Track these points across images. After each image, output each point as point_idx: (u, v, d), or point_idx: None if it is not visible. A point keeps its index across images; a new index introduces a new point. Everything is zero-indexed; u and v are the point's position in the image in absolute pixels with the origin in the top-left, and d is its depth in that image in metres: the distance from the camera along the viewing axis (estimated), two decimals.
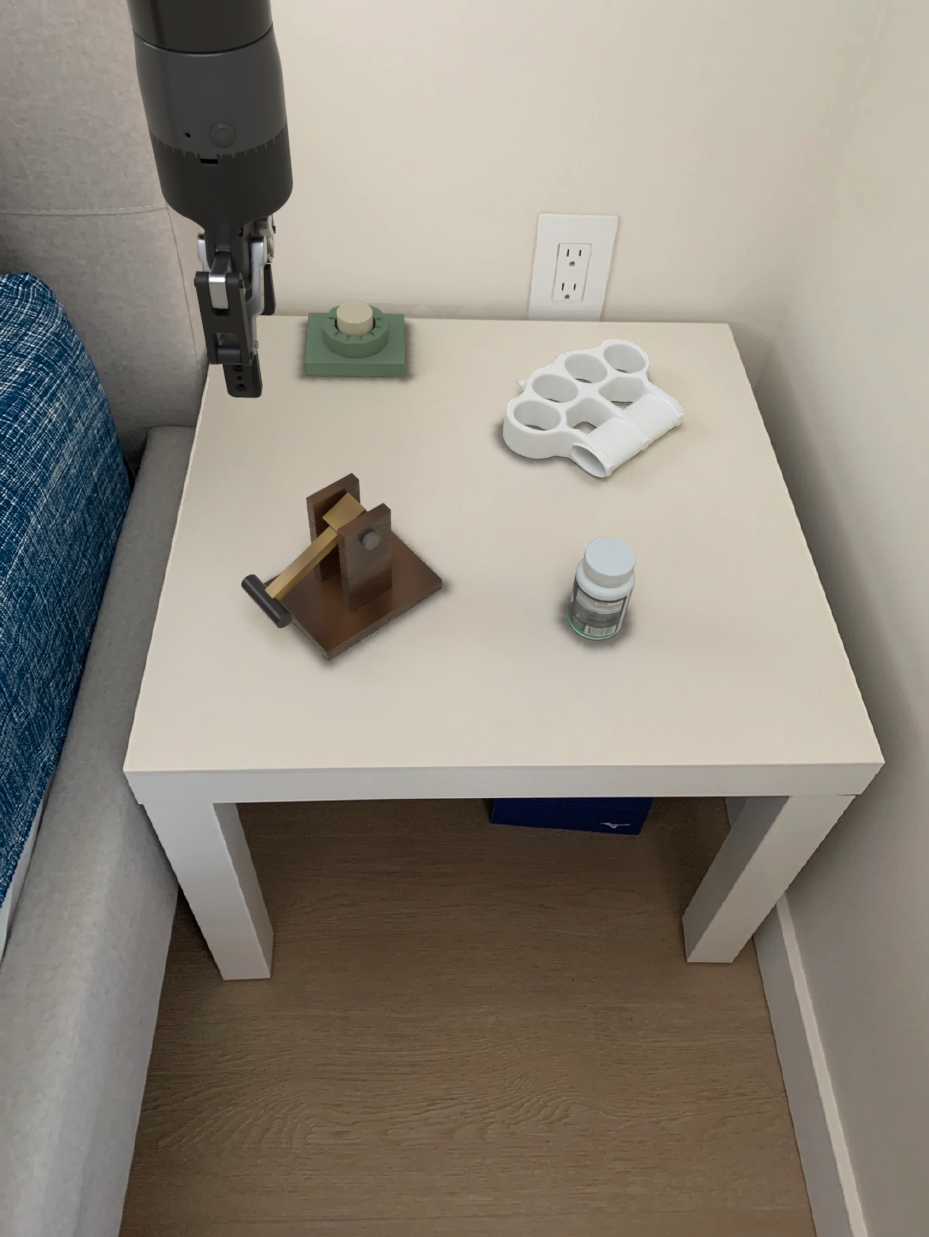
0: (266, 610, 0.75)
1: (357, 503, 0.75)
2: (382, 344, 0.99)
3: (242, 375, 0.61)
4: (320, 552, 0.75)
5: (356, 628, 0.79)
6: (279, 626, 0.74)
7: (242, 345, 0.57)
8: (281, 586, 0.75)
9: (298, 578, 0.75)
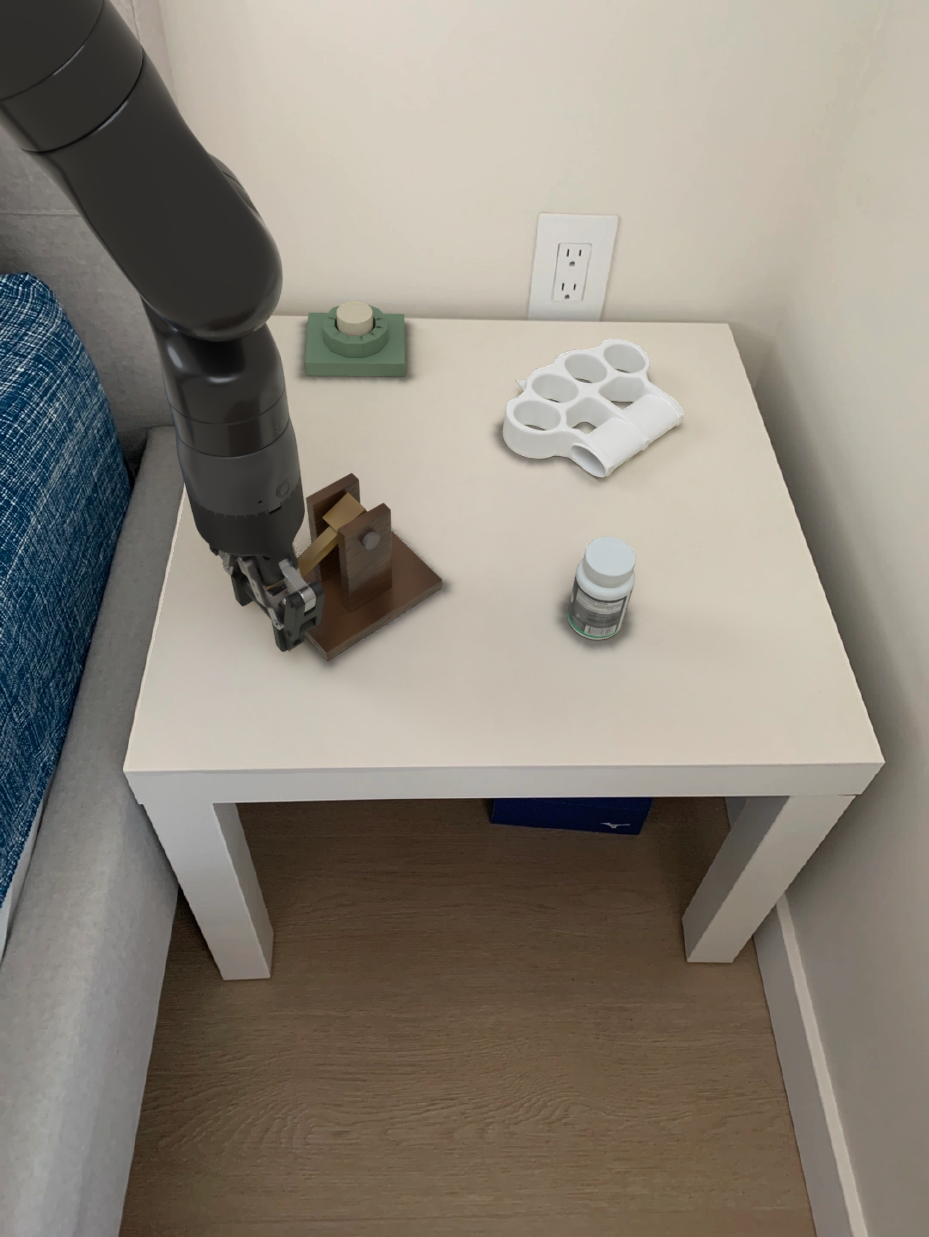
0: (266, 610, 0.75)
1: (357, 503, 0.75)
2: (382, 344, 0.99)
3: None
4: (320, 552, 0.75)
5: (356, 628, 0.79)
6: None
7: (318, 618, 0.71)
8: None
9: None
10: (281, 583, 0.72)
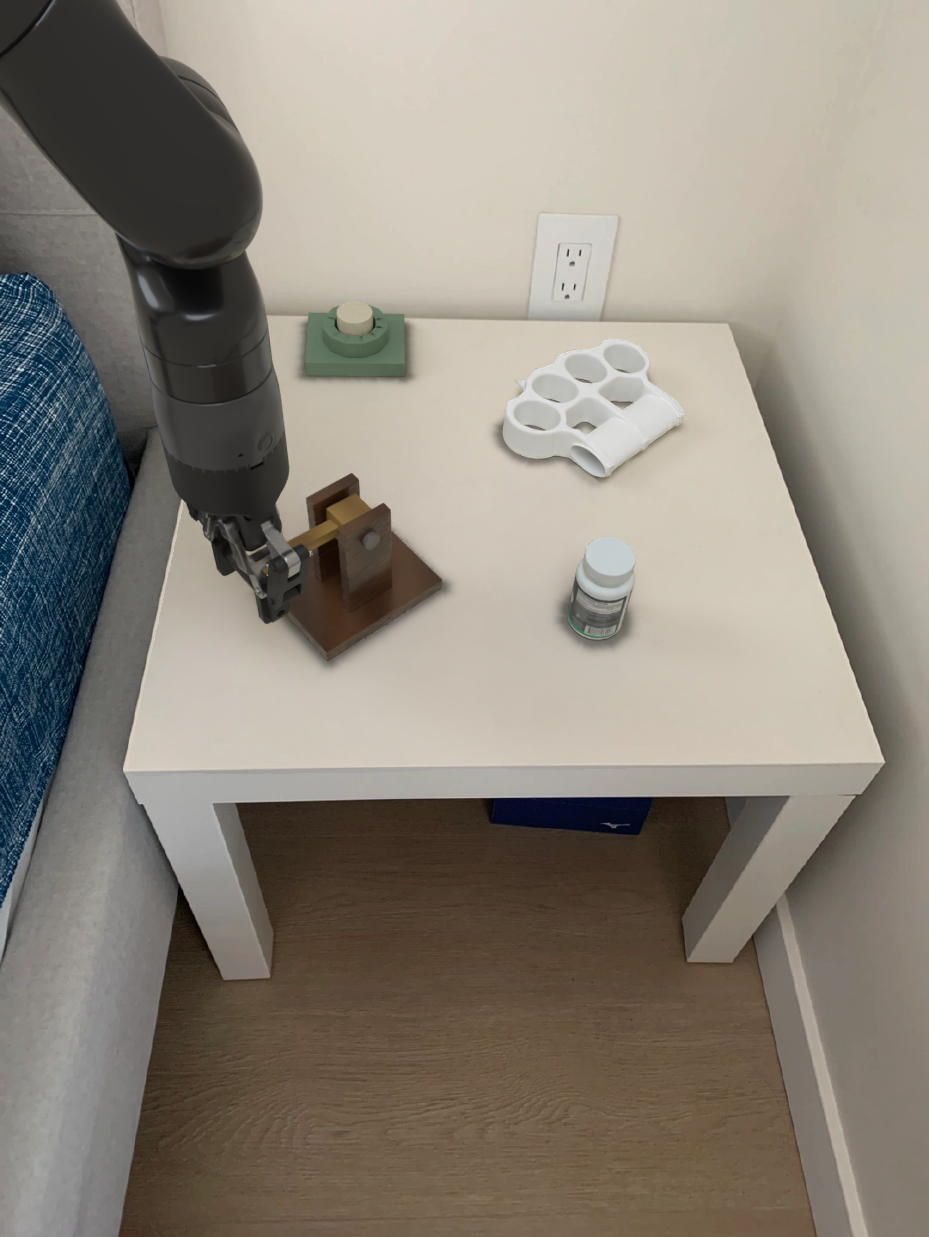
0: None
1: (364, 503, 0.75)
2: (382, 344, 0.99)
3: None
4: (317, 539, 0.74)
5: (356, 628, 0.79)
6: None
7: (303, 586, 0.67)
8: None
9: None
10: (264, 549, 0.68)
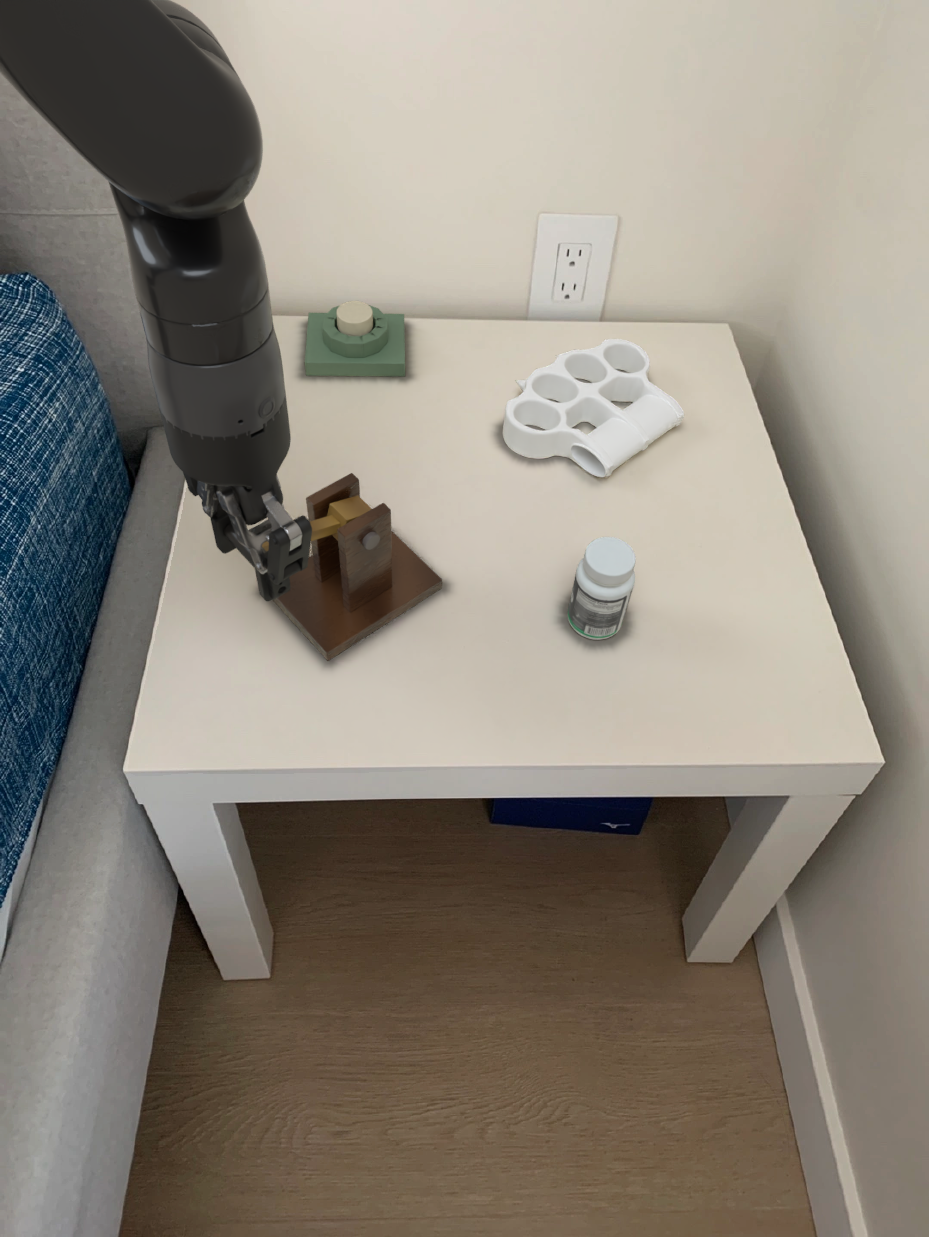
0: None
1: (367, 505, 0.76)
2: (382, 344, 0.99)
3: (283, 579, 0.68)
4: (319, 530, 0.73)
5: (356, 628, 0.79)
6: None
7: (305, 560, 0.65)
8: None
9: None
10: (265, 523, 0.66)
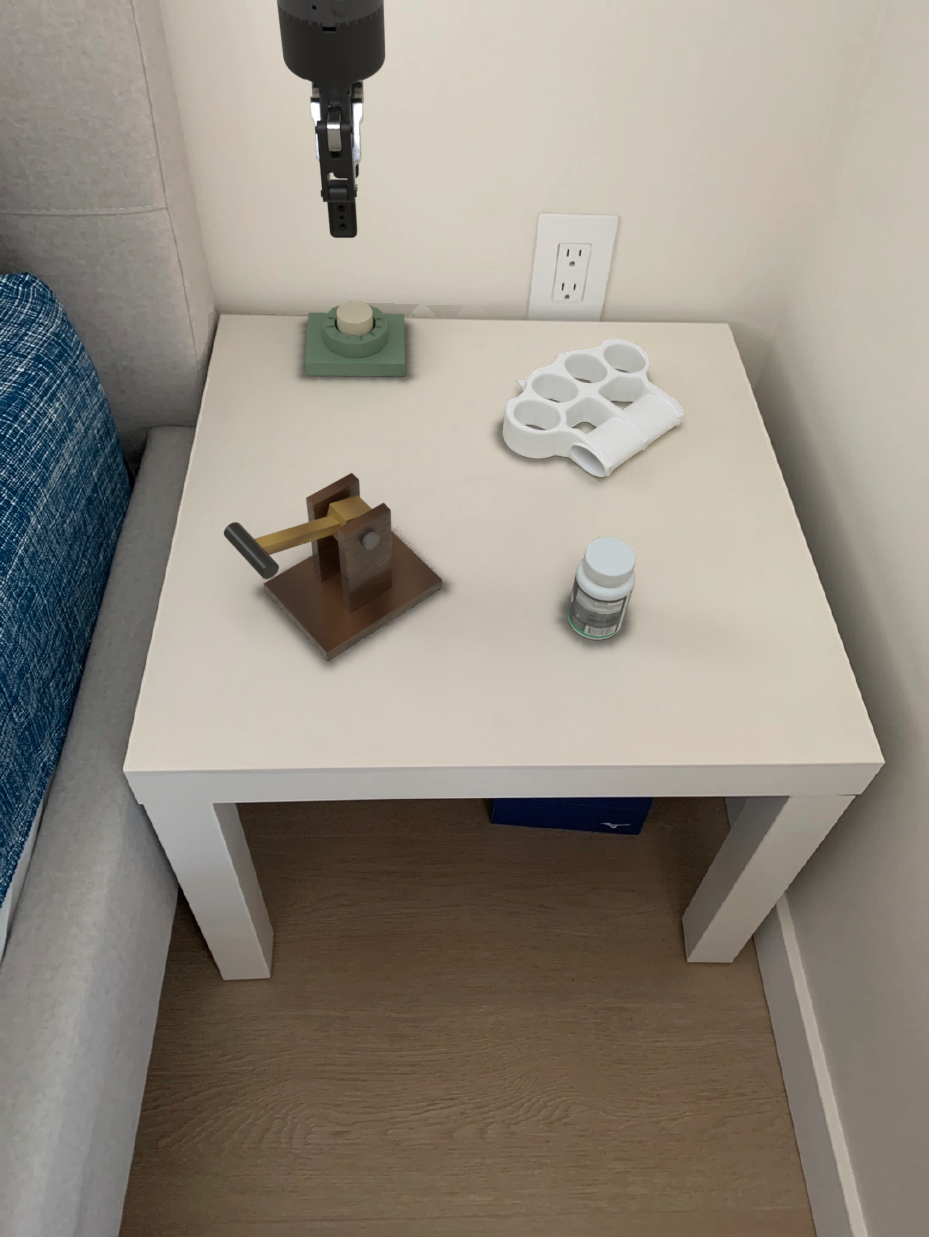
0: (254, 554, 0.69)
1: (367, 505, 0.76)
2: (382, 344, 0.99)
3: (344, 215, 0.77)
4: (319, 531, 0.73)
5: (356, 628, 0.79)
6: (264, 573, 0.69)
7: (350, 183, 0.73)
8: (273, 541, 0.71)
9: (290, 544, 0.72)
10: None
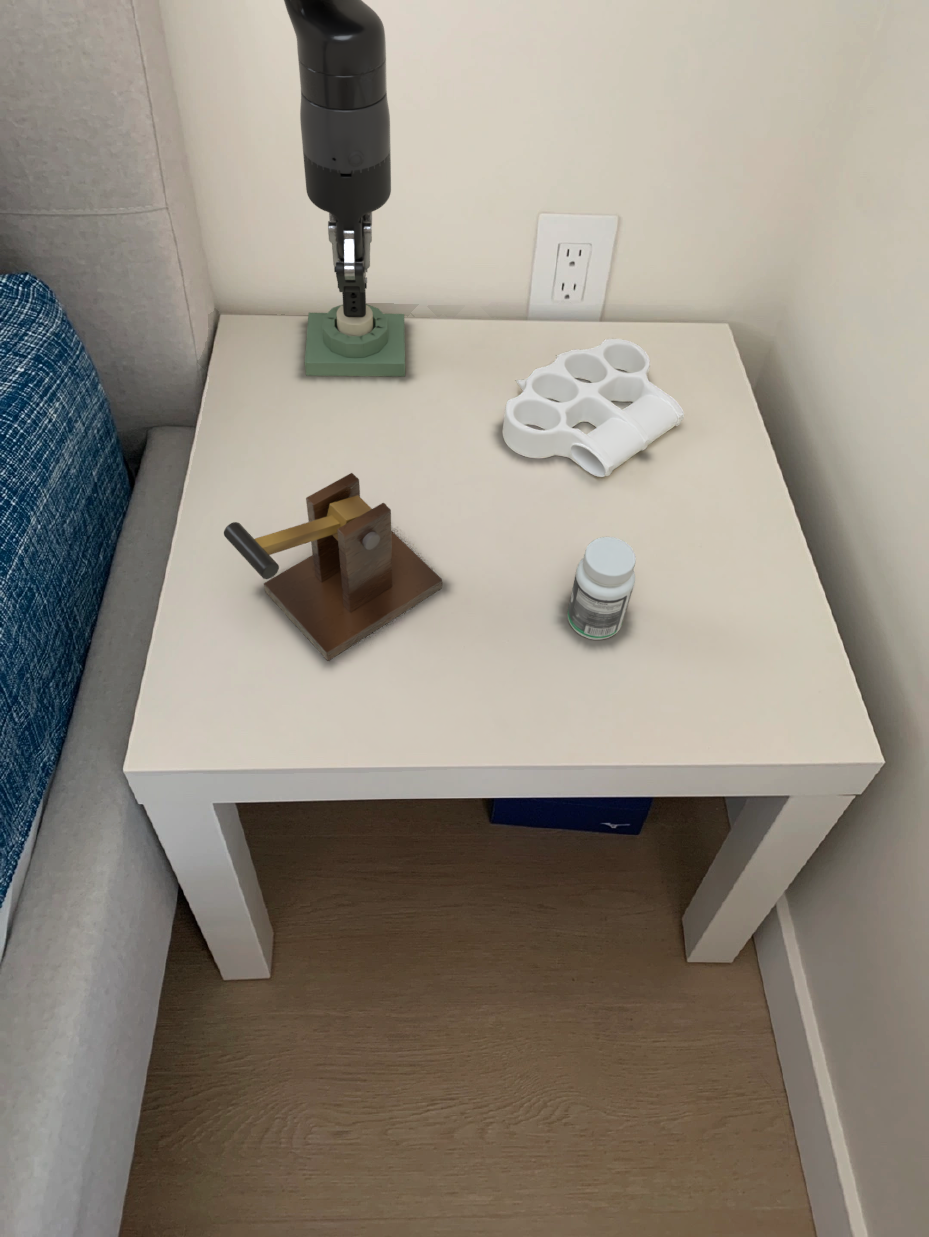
0: (254, 554, 0.69)
1: (367, 505, 0.76)
2: (382, 344, 0.99)
3: (355, 300, 0.95)
4: (319, 531, 0.73)
5: (356, 628, 0.79)
6: (264, 573, 0.69)
7: (361, 288, 0.91)
8: (273, 541, 0.71)
9: (290, 544, 0.72)
10: None
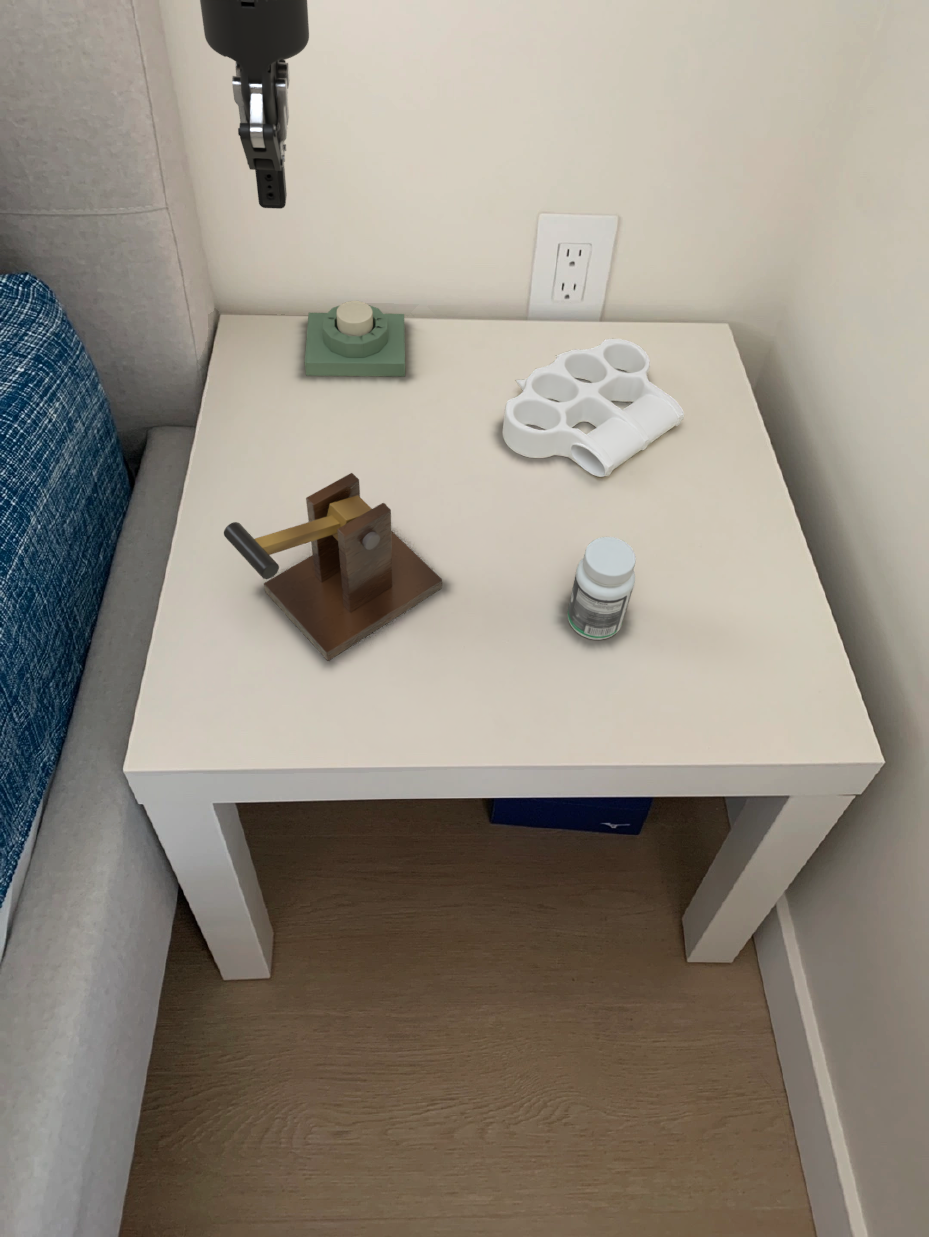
0: (254, 554, 0.69)
1: (367, 505, 0.76)
2: (382, 344, 0.99)
3: (272, 184, 0.79)
4: (319, 531, 0.73)
5: (356, 628, 0.79)
6: (264, 573, 0.69)
7: (275, 163, 0.75)
8: (273, 541, 0.71)
9: (290, 544, 0.72)
10: None
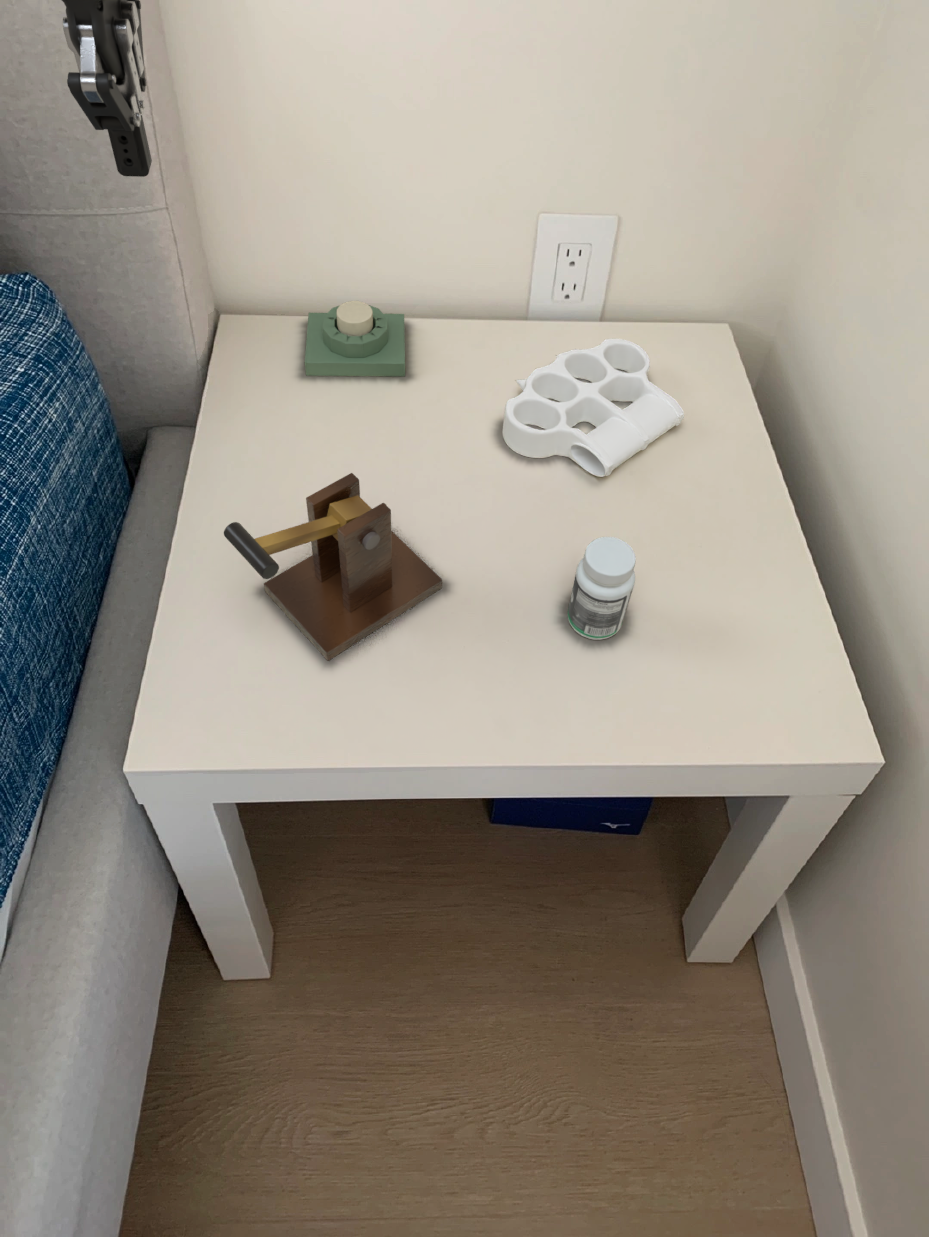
0: (254, 554, 0.69)
1: (367, 505, 0.76)
2: (382, 344, 0.99)
3: (128, 148, 0.68)
4: (319, 531, 0.73)
5: (356, 628, 0.79)
6: (264, 573, 0.69)
7: (123, 122, 0.64)
8: (273, 541, 0.71)
9: (290, 544, 0.72)
10: (117, 77, 0.65)
